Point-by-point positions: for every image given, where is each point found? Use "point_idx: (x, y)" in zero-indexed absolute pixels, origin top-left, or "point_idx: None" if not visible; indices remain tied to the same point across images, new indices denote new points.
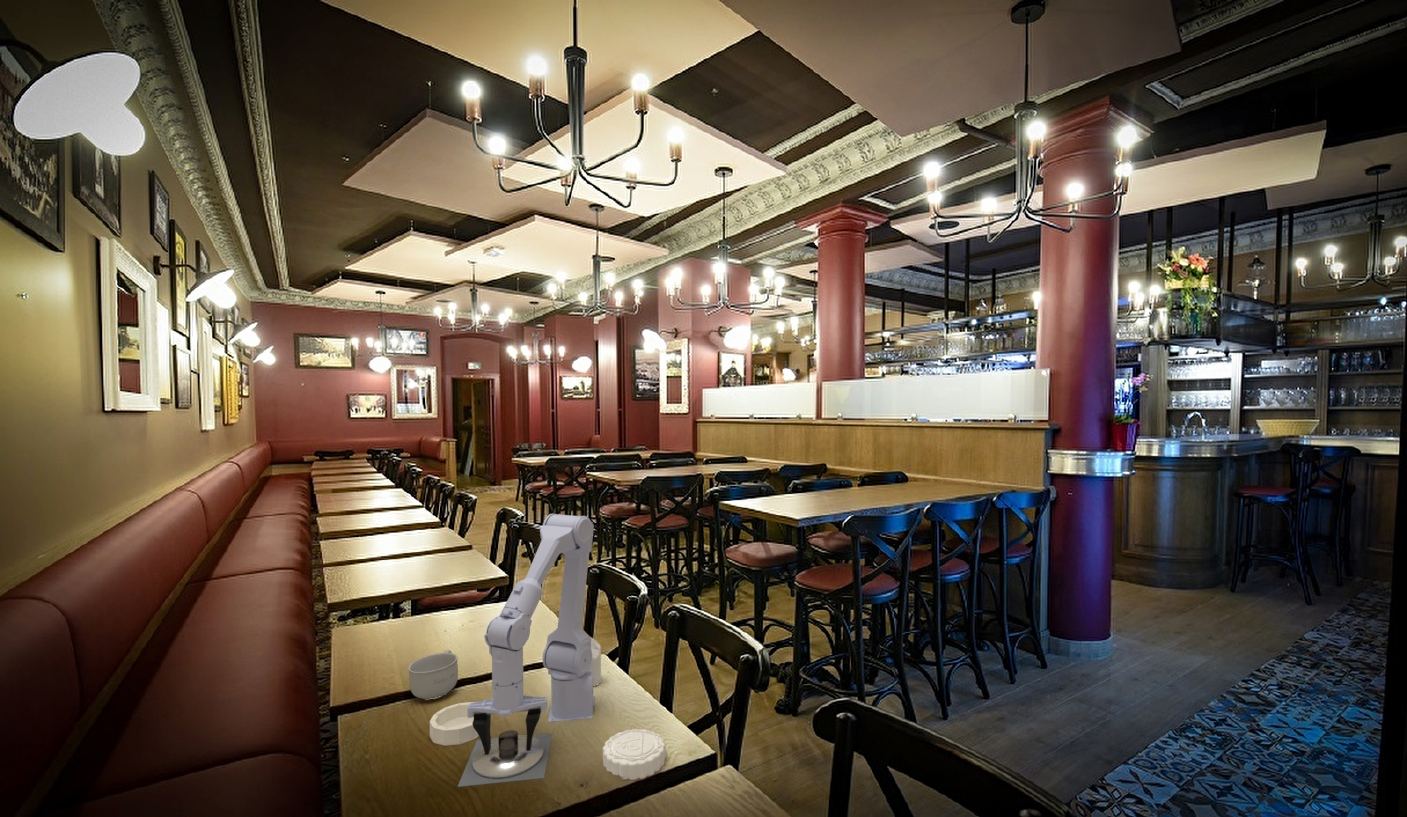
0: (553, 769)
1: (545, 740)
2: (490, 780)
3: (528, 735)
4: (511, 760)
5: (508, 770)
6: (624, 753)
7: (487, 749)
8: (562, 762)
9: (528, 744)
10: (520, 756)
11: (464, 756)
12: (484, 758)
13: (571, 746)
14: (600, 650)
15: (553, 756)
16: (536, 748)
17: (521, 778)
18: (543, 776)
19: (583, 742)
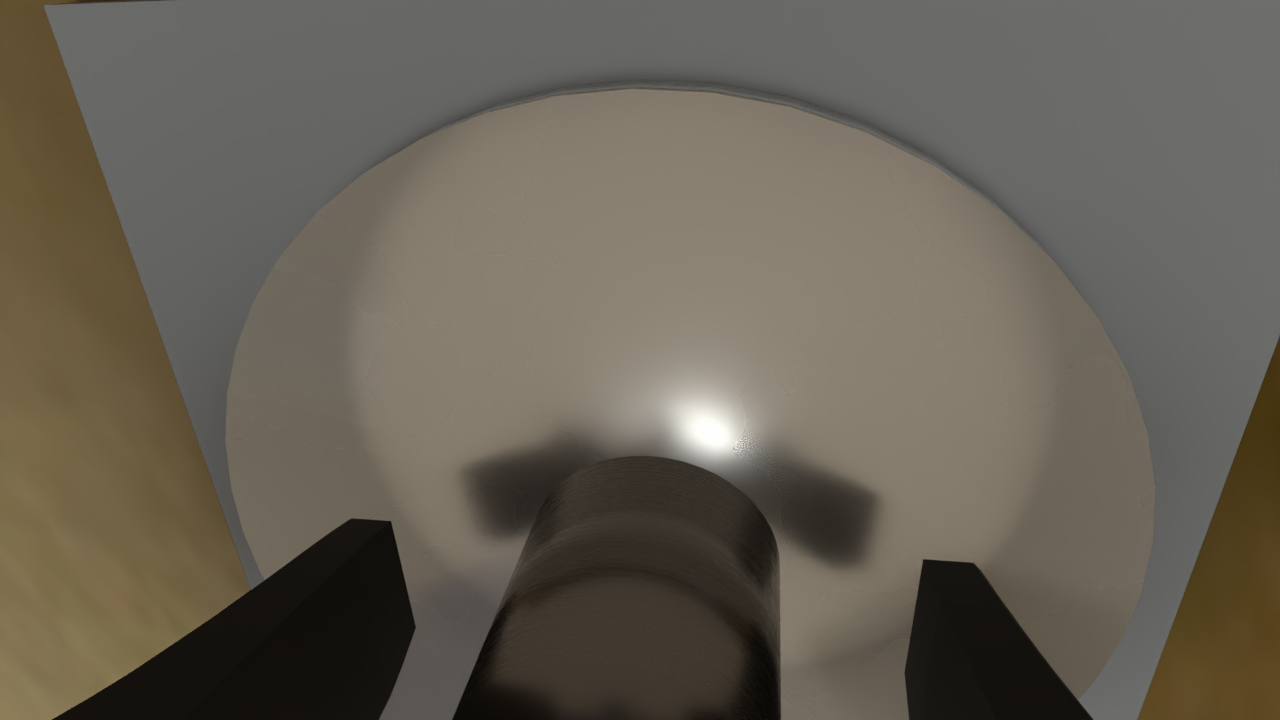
0: (76, 237)
1: None
2: (824, 59)
3: (188, 683)
4: (577, 417)
5: (556, 183)
6: None
7: (954, 614)
8: (40, 349)
9: (302, 573)
10: (478, 473)
11: (1219, 682)
12: (973, 534)
13: (83, 579)
14: None
15: (186, 469)
16: None
17: (354, 39)
18: (62, 40)
19: (4, 608)
